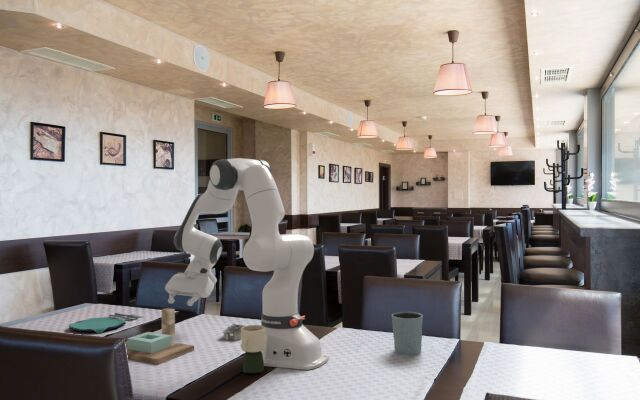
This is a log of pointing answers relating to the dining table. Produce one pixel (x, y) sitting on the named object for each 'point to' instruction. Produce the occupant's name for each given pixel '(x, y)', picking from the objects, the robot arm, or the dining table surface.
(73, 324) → the teal flat piece
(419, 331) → the grey green cup
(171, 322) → the beige tall block
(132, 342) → the end cap
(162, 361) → the walnut board
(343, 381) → the dining table surface
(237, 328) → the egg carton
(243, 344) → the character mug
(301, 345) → the robot arm
